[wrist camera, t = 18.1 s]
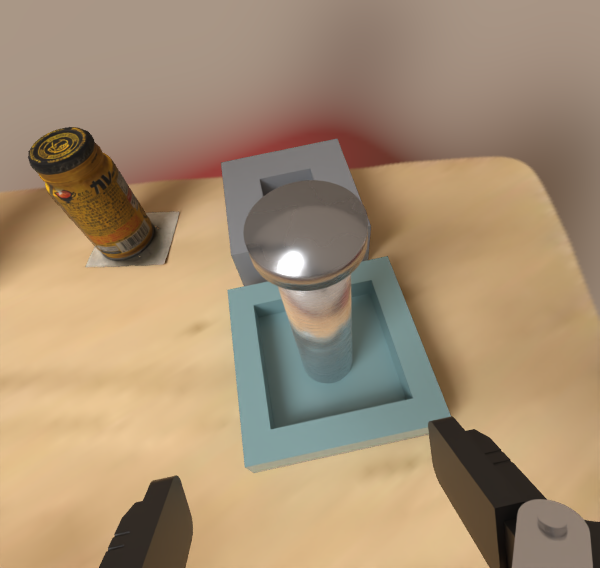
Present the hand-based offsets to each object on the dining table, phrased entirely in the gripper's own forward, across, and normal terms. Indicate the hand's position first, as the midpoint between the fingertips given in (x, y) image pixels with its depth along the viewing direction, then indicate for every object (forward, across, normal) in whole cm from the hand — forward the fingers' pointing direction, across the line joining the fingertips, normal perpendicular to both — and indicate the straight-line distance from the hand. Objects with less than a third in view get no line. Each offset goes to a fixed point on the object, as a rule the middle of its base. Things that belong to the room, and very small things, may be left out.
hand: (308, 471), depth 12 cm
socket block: (+29, -2, -5) cm, 30 cm away
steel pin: (+18, -2, +5) cm, 19 cm away
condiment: (+32, +14, -7) cm, 36 cm away
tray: (+19, -2, +5) cm, 19 cm away
